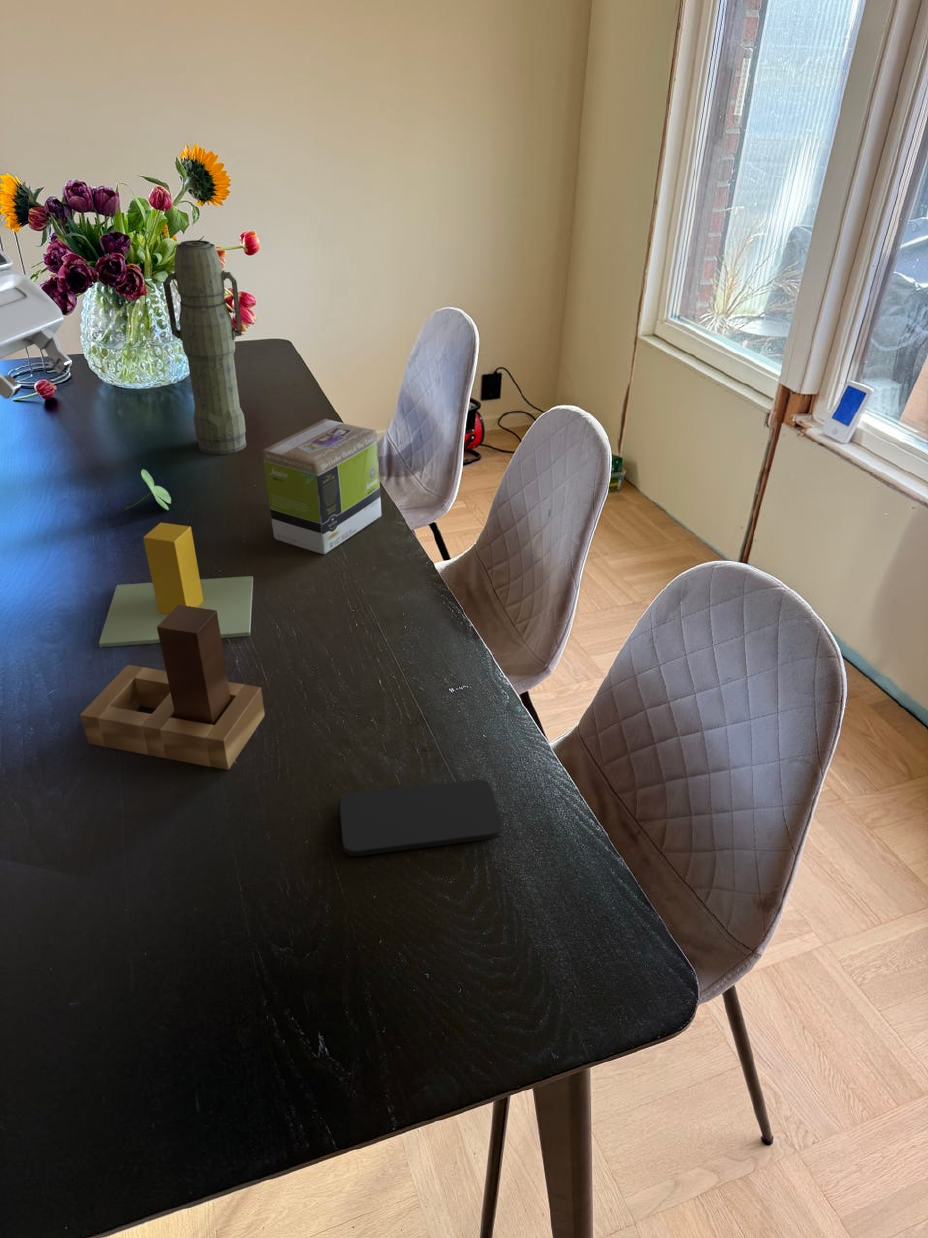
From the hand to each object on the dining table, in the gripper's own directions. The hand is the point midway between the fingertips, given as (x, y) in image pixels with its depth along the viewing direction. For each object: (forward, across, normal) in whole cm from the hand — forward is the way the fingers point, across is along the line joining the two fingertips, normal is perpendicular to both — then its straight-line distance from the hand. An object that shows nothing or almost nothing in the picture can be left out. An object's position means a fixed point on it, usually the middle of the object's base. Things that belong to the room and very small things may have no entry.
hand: (41, 380), depth 98 cm
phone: (+58, -28, -16) cm, 66 cm away
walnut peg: (+40, -21, +2) cm, 45 cm away
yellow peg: (+29, 0, +12) cm, 31 cm away
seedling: (+16, +27, +26) cm, 41 cm away
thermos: (+15, +53, +27) cm, 61 cm away
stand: (+37, -21, +4) cm, 43 cm away
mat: (+30, 0, +12) cm, 32 cm away
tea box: (+37, +27, +5) cm, 46 cm away
